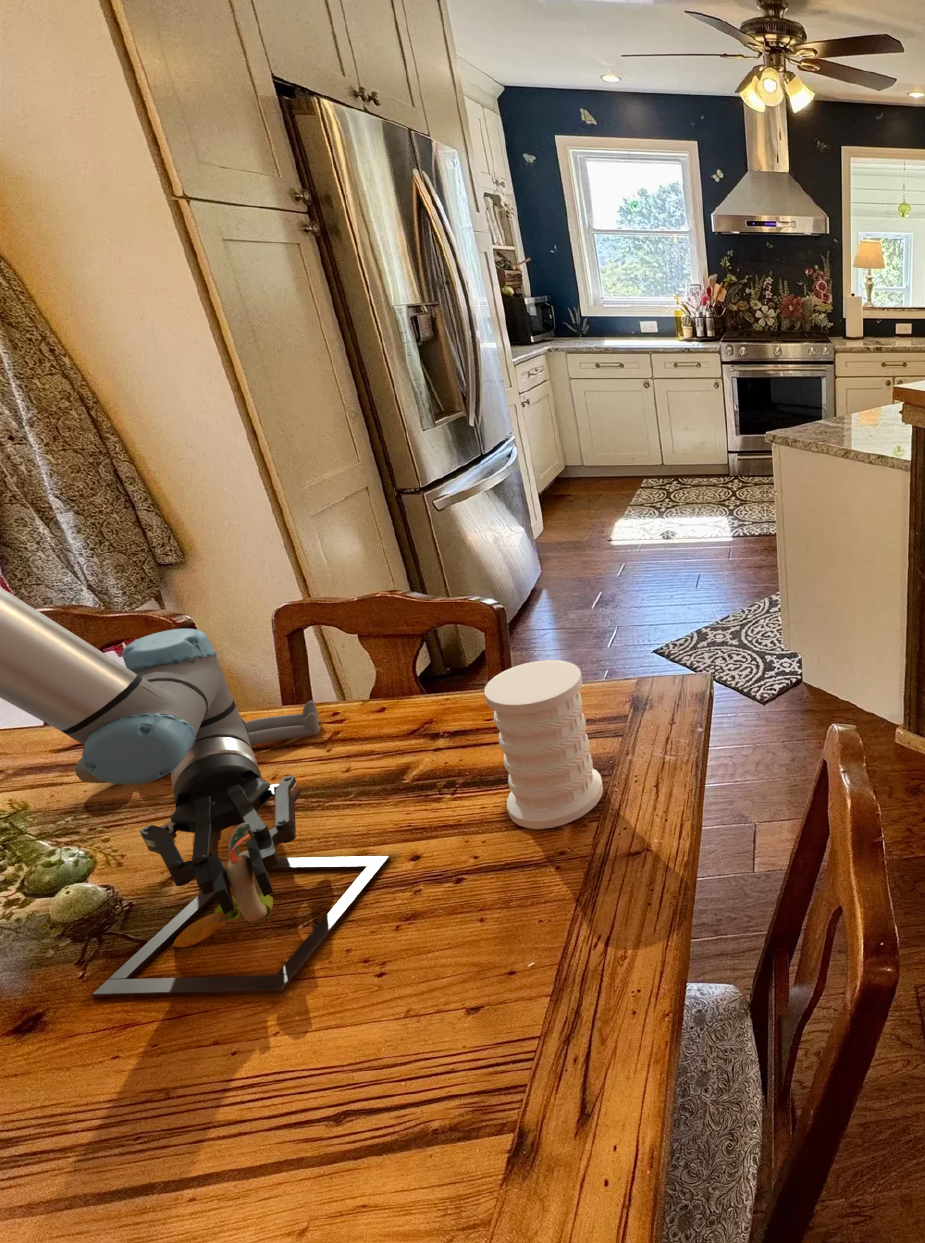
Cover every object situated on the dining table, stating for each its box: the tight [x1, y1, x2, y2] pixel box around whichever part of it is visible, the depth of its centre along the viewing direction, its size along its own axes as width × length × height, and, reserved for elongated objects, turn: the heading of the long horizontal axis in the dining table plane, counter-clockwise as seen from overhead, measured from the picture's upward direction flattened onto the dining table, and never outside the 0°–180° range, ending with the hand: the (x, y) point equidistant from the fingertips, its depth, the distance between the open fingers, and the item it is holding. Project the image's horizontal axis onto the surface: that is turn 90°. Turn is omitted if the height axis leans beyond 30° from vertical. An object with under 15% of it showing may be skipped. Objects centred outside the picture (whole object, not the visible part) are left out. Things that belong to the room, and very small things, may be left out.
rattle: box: [172, 822, 274, 948], centre depth 72 cm, size 8×8×12 cm
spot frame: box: [91, 855, 391, 999], centre depth 75 cm, size 17×17×1 cm
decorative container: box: [483, 659, 604, 830], centre depth 91 cm, size 12×12×18 cm
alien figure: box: [74, 700, 321, 784], centre depth 100 cm, size 8×5×25 cm
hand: (244, 892), depth 69 cm, fingers open, 2 cm apart
